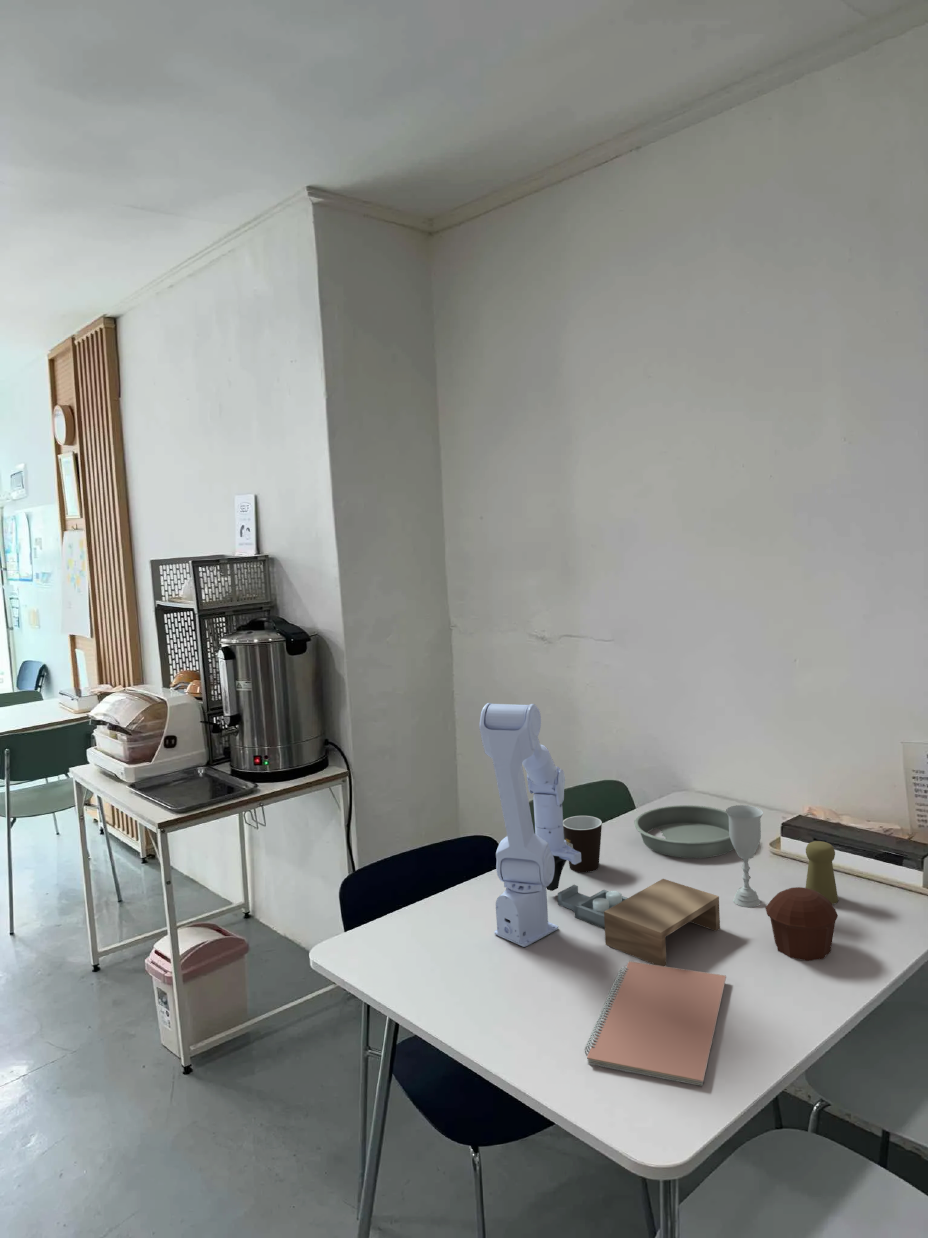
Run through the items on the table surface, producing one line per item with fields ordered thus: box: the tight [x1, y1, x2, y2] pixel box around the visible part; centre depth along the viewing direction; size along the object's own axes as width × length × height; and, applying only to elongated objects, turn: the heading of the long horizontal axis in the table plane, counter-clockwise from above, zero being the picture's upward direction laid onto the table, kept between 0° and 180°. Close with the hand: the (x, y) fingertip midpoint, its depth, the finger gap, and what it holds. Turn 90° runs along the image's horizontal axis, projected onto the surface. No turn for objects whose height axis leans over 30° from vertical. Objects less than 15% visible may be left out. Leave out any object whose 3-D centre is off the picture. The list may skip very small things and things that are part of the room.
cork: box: [805, 840, 839, 906], centre depth 163 cm, size 6×6×11 cm
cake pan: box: [633, 804, 735, 859], centre depth 197 cm, size 25×25×4 cm
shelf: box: [604, 878, 721, 967], centre depth 152 cm, size 18×12×6 cm, turn 132°
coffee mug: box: [563, 815, 603, 874], centre depth 187 cm, size 12×9×10 cm
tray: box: [557, 884, 628, 930], centre depth 164 cm, size 9×15×4 cm, turn 42°
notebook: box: [584, 960, 727, 1087], centre depth 128 cm, size 27×17×2 cm, turn 157°
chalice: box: [725, 804, 764, 908], centre depth 163 cm, size 7×7×18 cm
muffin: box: [765, 886, 839, 962], centre depth 145 cm, size 12×11×10 cm
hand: (552, 888), depth 172 cm, fingers closed
